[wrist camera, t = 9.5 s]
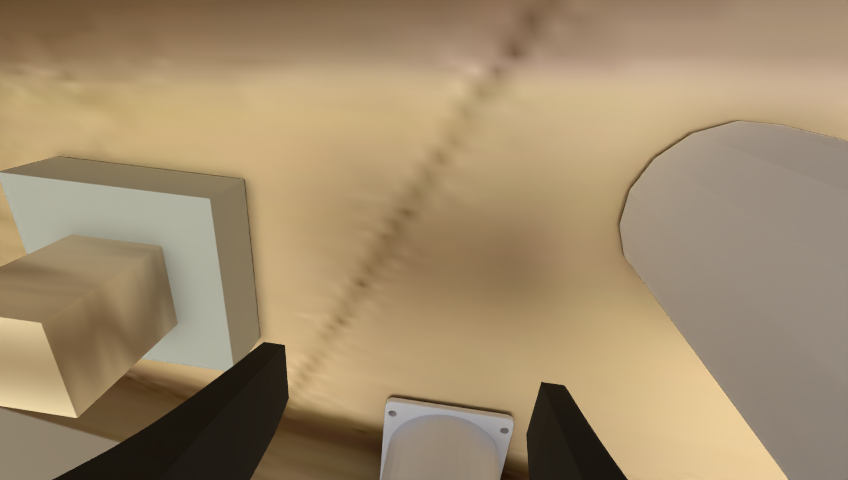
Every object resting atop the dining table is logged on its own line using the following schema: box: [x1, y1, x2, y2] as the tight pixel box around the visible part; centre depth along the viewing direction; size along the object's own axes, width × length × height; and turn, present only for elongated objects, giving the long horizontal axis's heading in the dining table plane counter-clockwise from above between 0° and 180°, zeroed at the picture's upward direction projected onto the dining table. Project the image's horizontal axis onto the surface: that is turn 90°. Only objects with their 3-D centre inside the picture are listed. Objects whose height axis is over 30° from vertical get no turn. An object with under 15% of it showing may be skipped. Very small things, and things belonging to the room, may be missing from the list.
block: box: [0, 234, 178, 418], centre depth 18 cm, size 4×4×6 cm
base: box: [0, 156, 260, 371], centre depth 22 cm, size 10×10×3 cm
